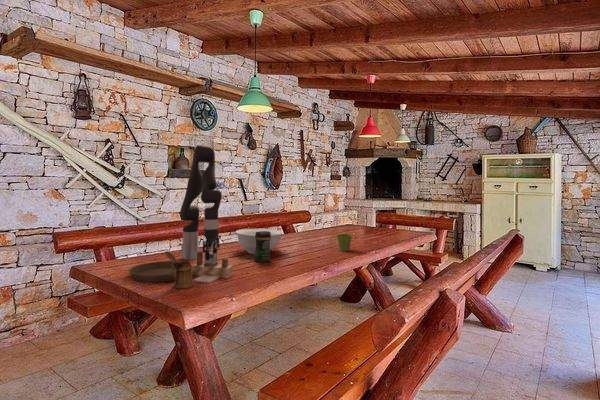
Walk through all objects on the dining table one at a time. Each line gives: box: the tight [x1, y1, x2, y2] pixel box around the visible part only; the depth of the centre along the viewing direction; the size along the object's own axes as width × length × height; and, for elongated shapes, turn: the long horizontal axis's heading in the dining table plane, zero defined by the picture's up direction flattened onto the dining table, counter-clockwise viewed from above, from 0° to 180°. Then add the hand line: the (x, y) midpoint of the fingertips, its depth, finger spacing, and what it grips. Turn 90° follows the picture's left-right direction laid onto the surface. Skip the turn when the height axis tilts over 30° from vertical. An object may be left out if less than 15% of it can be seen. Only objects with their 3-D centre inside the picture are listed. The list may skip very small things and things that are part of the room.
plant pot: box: [335, 233, 354, 252], centre depth 271 cm, size 12×12×11 cm
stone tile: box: [193, 275, 219, 284], centre depth 188 cm, size 9×9×1 cm
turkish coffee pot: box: [165, 250, 195, 290], centre depth 174 cm, size 9×14×18 cm, turn 137°
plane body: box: [191, 250, 234, 279], centre depth 197 cm, size 20×7×12 cm, turn 77°
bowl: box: [235, 228, 283, 255], centre depth 258 cm, size 32×32×15 cm
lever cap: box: [204, 251, 218, 264], centre depth 197 cm, size 5×4×5 cm
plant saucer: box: [128, 260, 193, 283], centre depth 195 cm, size 31×31×5 cm
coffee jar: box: [253, 231, 271, 263], centre depth 232 cm, size 10×8×19 cm
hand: (211, 258), depth 197 cm, fingers open, 8 cm apart
